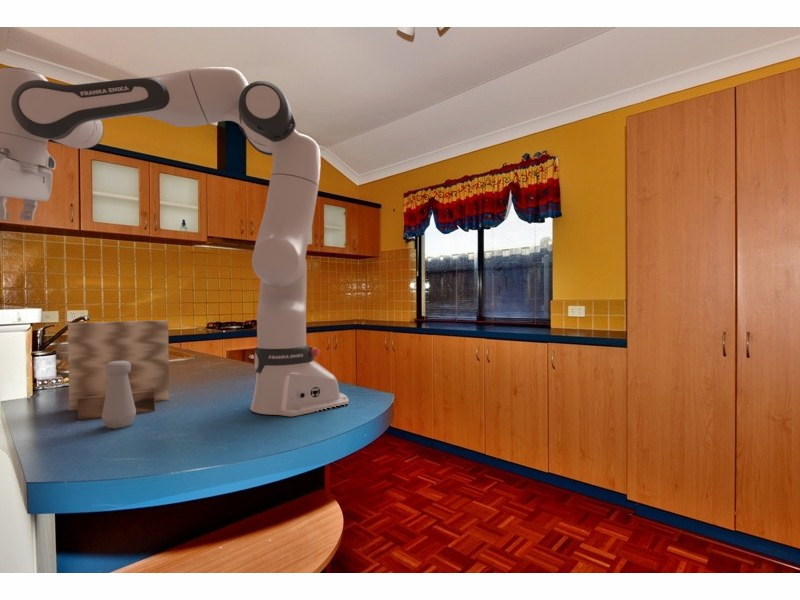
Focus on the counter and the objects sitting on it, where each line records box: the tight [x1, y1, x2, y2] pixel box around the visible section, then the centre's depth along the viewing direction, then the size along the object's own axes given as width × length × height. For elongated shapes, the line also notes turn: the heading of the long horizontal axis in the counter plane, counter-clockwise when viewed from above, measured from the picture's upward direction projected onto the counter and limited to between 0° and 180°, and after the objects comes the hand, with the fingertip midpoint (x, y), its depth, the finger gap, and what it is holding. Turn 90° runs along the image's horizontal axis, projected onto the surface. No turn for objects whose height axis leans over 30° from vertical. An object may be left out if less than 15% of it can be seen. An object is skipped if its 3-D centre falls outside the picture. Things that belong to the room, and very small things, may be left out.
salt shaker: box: [101, 361, 137, 430], centre depth 84 cm, size 6×6×13 cm
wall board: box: [67, 319, 170, 412], centre depth 101 cm, size 20×2×20 cm, turn 120°
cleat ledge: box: [77, 389, 156, 421], centre depth 95 cm, size 14×10×4 cm
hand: (14, 220), depth 87 cm, fingers open, 8 cm apart
